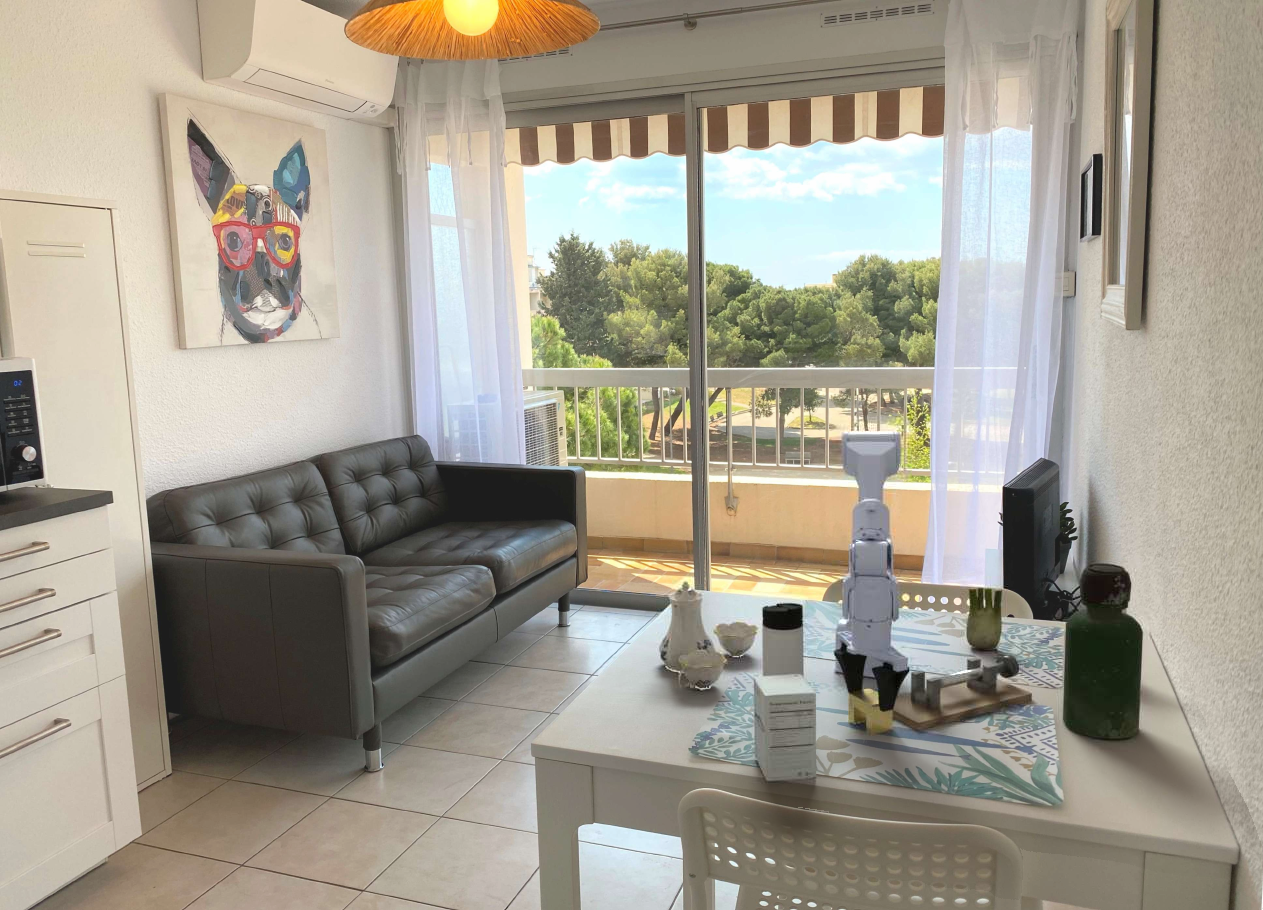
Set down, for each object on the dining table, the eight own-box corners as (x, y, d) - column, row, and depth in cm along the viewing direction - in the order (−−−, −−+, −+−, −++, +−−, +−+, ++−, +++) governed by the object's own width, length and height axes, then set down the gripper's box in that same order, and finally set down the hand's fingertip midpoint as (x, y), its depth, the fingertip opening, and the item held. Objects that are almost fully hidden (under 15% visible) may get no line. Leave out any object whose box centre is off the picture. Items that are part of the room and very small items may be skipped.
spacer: (871, 734, 145) (872, 705, 145) (848, 721, 150) (848, 692, 150) (892, 729, 147) (892, 700, 146) (869, 716, 152) (869, 688, 151)
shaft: (947, 697, 153) (948, 675, 152) (931, 689, 156) (932, 668, 155) (1018, 679, 159) (1019, 658, 159) (1002, 672, 162) (1002, 652, 162)
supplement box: (753, 758, 139) (752, 675, 137) (803, 755, 139) (802, 672, 137) (764, 782, 131) (763, 695, 130) (817, 778, 132) (817, 691, 130)
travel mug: (780, 739, 145) (779, 612, 142) (755, 724, 150) (753, 601, 148) (813, 730, 147) (812, 605, 145) (787, 715, 153) (786, 595, 150)
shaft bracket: (917, 730, 146) (918, 692, 145) (875, 707, 155) (875, 672, 154) (1031, 700, 156) (1032, 665, 155) (985, 680, 165) (986, 647, 164)
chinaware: (724, 710, 160) (732, 616, 158) (631, 690, 166) (638, 598, 163) (761, 655, 186) (768, 573, 184) (680, 639, 192) (686, 559, 189)
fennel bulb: (1003, 648, 181) (1004, 586, 180) (993, 655, 178) (994, 592, 176) (973, 642, 185) (974, 582, 183) (962, 649, 181) (963, 587, 180)
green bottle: (1049, 725, 147) (1053, 567, 143) (1084, 707, 153) (1090, 555, 149) (1116, 747, 138) (1123, 580, 135) (1151, 728, 144) (1158, 567, 141)
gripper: (820, 608, 151) (821, 690, 153) (881, 633, 138) (880, 723, 140) (856, 602, 154) (856, 682, 156) (919, 626, 141) (918, 713, 143)
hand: (870, 701), depth 148 cm, fingers open, 7 cm apart
